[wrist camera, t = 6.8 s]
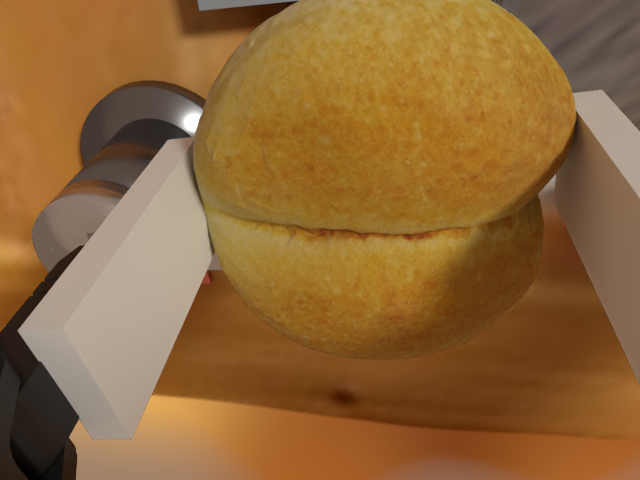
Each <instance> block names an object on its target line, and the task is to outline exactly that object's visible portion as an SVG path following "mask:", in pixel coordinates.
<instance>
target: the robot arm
mask: <svg viewBox="0 0 640 480" xmlns="http://www.w3.org/2000/svg"><path fill="white" fill-rule="evenodd" d="M573 96H574V99H575V108H576V117H577V118H576V124H575V130H574V136H573V141H572V146H571V148H570V151H569V153H568V155H567V158H566V159H565V161H564V163H563V164H562V166H561V168H560V169H559V170H558V171H557V172H556V182H555V192H554V203H555V205H556V207H557V209H558V212H559V214H560V216H561V218H562V220H563V222H564V224H565V227H566V229H567V231H568V233H569V235H570V237H571V239H572V241H573V244H574V246H575V248H576V250H577V252H578V254H579V256H580V259H581V261H582V263H583V265H584V267H585V269H586V271H587V274H588V276H589V278H590V280H591V282H592V284H593V286H594V288H595V291H596V293H597V295H598V297H599V299H600V301H601V303H602V306H603V308H604V310H605V312H606V314H607V316H608V318H609V321H610V323H611V325H612V327H613V329H614V331H615V333H616V335H617V338H618V340H619V342H620V344H621V346H622V348H623V350H624V353H625V355H626V357H627V359H628V361H629V363H630V365H631V368H632V370H633V372H634V374H635V376H636V378H637V380H638V382H639V385H640V131H639V130H638V129H637V128H636V127H635V126H634V124H633V123H632V122H631V121H630V120H629V119H628V118H627V117H626V116H625V114H624V113H623V112H622V111H621V110H620V109H619V108H618V107H617V106H616V104H615V103H614V102H613V101H612V100H611V99H610V98H609V97H608V96H607V95H606V93H605V92H604V91H603V90H595V91H586V92H577V93H573ZM194 138H195V137H188V138H179V139H171V140H167V142H166V143H165V144H164V146H163V147H162V148H161V149H160V151H159V152H158V153H157V154H156V156H155V157H154V158H153V159H152V161H151V162H150V163H149V165H148V166H147V167H146V168H145V170H144V171H143V172H142V173H141V175H140V176H139V177H138V178H137V180H136V181H135V182H134V184H133V185H132V186H131V187H130V189H129V190H128V191H127V192H126V194H125V195H124V196H123V198H122V199H121V200H120V201H119V203H118V204H117V205H116V206H115V208H114V209H113V210H112V211H111V213H110V214H109V215H108V217H107V218H106V219H105V220H104V222H103V223H102V224H101V225H100V227H99V228H98V229H97V230H96V232H95V233H94V234H93V236H92V237H91V238H90V239H89V241H88V242H87V243H86V244H85V245H81V246H78V247H77V248H76V249H74V250H73V251H72V252H70V253H69V254H68V255H66V256H65V257H64V258H62V259H61V260H60V261H58V263H57V264H56V265H55V266H54V268H53V269H52V270H51V271H50V272H49V274H48V275H47V276H46V277H45V282H41V283H40V285H39V286H38V287H37V288H36V289H35V291H34V292H33V296H30V297H29V298H28V299H27V300H26V302H25V303H24V304H23V305H22V306H21V308H20V309H19V310H18V311H17V313H16V314H15V315H14V316H13V317H12V319H11V320H10V321H9V322H8V324H7V325H6V326H5V327H4V328H3V330H2V331H1V332H0V480H76V467H77V453H76V448H75V446H74V444H73V443H72V441H71V440H70V439H69V436H70V434H71V432H72V431H73V428H74V427H75V425H76V423H77V422H78V420H80V422H81V423H82V424H83V426H84V427H85V429H86V430H87V432H88V433H89V435H90V436H91V438H92V439H132V437H133V435H134V433H135V431H136V428H137V426H138V424H139V422H140V419H141V417H142V415H143V413H144V410H145V408H146V406H147V404H148V402H149V399H150V397H151V395H152V393H153V390H154V388H155V386H156V384H157V381H158V379H159V377H160V375H161V372H162V370H163V368H164V366H165V363H166V361H167V359H168V357H169V354H170V352H171V350H172V348H173V345H174V343H175V341H176V339H177V336H178V334H179V332H180V330H181V327H182V325H183V323H184V321H185V318H186V316H187V314H188V312H189V310H190V307H191V305H192V303H193V301H194V298H195V296H196V294H197V292H198V289H199V287H200V285H201V283H202V280H203V278H204V276H205V274H206V271H207V269H208V267H209V265H210V262H211V260H212V258H213V256H214V253H215V249H214V247H213V244H212V241H211V237H210V233H209V229H208V225H207V220H206V216H205V211H204V206H203V202H202V199H201V196H200V193H199V190H198V185H197V180H196V175H195V171H194V167H193V149H194Z"/></svg>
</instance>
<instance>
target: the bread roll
mask: <svg viewBox="0 0 640 480" xmlns="http://www.w3.org/2000/svg"><path fill="white" fill-rule="evenodd" d="M576 118H577V117H576V108H575V99H574V96H573V93H572V90H571V87H570V84H569V81H568V79H567V77H566V75H565V73H564V71H563V70H562V68H561V67H560V66H559V64H558V63H557V61H556V60H555V59H554V57H553V56H552V55H551V53H550V52H549V51H548V49H547V48H546V47H545V46H544V44H543V43H542V42H541V41H540V39H539V38H538V37H537V36H536V35H535V34H534V33H533V32H532V31H531V30H530V29H529V28H528V27H527V26H526V25H525V24H523V23H522V22H521V21H520V20H519V19H517V18H516V17H515V16H514V15H512V14H511V13H509V12H508V11H506V10H505V9H503V8H502V7H501V6H499V5H498V4H496V3H494V2H492V1H491V0H299V1H298V2H296V3H294V4H292V5H290V6H289V7H287V8H285V9H284V10H283V11H281V12H280V13H278V14H276V15H274V16H272V17H270V18H269V19H267V20H266V21H264V22H263V23H262V24H260V25H259V26H258V27H257V28H255V29H254V30H253V31H252V32H251V33H250V34H249V36H248V37H247V38H246V39H245V40H244V41H243V42H242V43H241V44H240V46H239V47H238V48H237V49H236V50H235V52H234V53H233V54H232V55H231V57H230V58H229V59H228V60H227V62H226V63H225V65H224V67H223V69H222V70H221V72H220V74H219V75H218V77H217V78H216V80H215V81H214V83H213V85H212V87H211V89H210V91H209V94H208V96H207V99H206V102H205V105H204V107H203V113H202V115H201V116H200V118H199V121H198V125H197V128H196V132H195V138H194V149H193V167H194V171H195V175H196V180H197V185H198V190H199V193H200V196H201V199H202V202H203V206H204V211H205V216H206V220H207V225H208V229H209V233H210V237H211V241H212V244H213V247H214V249H215V252H216V254H217V257H218V259H219V263H220V266H221V268H222V270H223V271H224V273H225V275H226V276H227V278H228V279H229V281H230V282H231V284H232V285H233V287H234V288H235V290H236V291H237V293H238V294H239V296H240V297H241V298H242V299H243V301H244V303H245V305H246V306H247V308H249V309H250V310H251V311H252V312H253V313H254V314H255V315H257V316H258V317H259V318H260V319H261V320H262V321H263V322H265V323H266V324H268V325H269V326H271V327H272V328H274V329H275V330H277V331H278V332H280V333H282V334H283V335H285V336H287V337H289V338H290V339H292V340H294V341H296V342H298V343H299V344H302V345H304V346H306V347H308V348H310V349H312V350H316V351H320V352H324V353H328V354H333V355H338V356H344V357H350V358H357V359H369V360H386V359H406V358H411V357H417V356H422V355H426V354H431V353H434V352H438V351H441V350H445V349H449V348H452V347H455V346H458V345H461V344H463V343H466V342H468V341H469V340H471V339H473V338H474V337H476V336H477V335H479V334H480V333H482V332H484V331H485V330H487V329H488V328H490V327H491V326H493V325H494V324H495V323H497V322H498V321H499V320H500V319H501V318H503V317H504V316H505V315H506V314H508V313H509V312H510V311H512V310H513V309H514V307H515V306H516V305H517V304H518V303H519V301H520V300H521V299H522V297H523V296H524V294H525V293H526V292H527V290H528V288H529V287H530V285H531V283H532V282H533V279H534V277H535V275H536V273H537V270H538V265H539V261H540V257H541V251H542V243H543V233H544V222H543V216H542V210H541V203H540V200H539V197H538V193H539V192H540V191H541V190H542V189H543V188H544V186H545V185H546V184H547V183H548V182H549V181H550V180H551V179H552V177H553V176H554V175H555V174H556V172H557V171H558V170H559V169H560V168H561V166H562V164H563V163H564V161H565V159H566V158H567V155H568V153H569V151H570V148H571V146H572V141H573V136H574V130H575V124H576Z"/></svg>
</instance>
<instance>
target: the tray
mask: <svg viewBox="0 0 640 480" xmlns="http://www.w3.org/2000/svg"><path fill="white" fill-rule="evenodd" d="M291 1H299V0H197V2H198V6H199V10H200V11H203V10H213V9H222V8H232V7H242V6H252V5H261V4H271V3H281V2H291Z"/></svg>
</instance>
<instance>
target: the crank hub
mask: <svg viewBox="0 0 640 480" xmlns="http://www.w3.org/2000/svg"><path fill="white" fill-rule="evenodd" d="M205 102H206V100H205V99H203V98H202V97H200V96H199V95H197V94H196V93H194V92H192V91H190V90H188V89H186V88H183V87H181V86H178V85H175V84H171V83H167V82H162V81H138V82H132V83H129V84H126V85H123V86H121V87H119V88H117V89H115V90H113V91H112V92H111V93H109V94H108V95H107V96H106V97H104V98H103V99H102V100H101V101H100V102H99V103H98V104H97V105H96V106H95V107H94V108H93V109H92V110H91V112H90V113H89V115H88V116H87V118H86V121H85V123H84V126H83V129H82V134H81V153H82V158H83V162H84V165H85V167H84V168H83V169H82V170H81V171H80V172H79V173H78V174H77V175H76V176H75V177H74V178H73V179H72V180H71V181H70V182H69V183H68V185H67V186H69V185H71V184H73V183H75V182H79V181H83V180H106V181H111V182H115V183H118V184H121V185H124V186H126V187H128V188H130V187H131V186H132V185H133V184H134V182H135V181H136V180H137V178H138V177H139V176H140V175H141V173H142V172H143V171H144V170H145V168H146V167H147V166H148V165H149V163H150V162H151V161H152V159H153V158H154V157H155V156H156V154H157V153H158V152H159V151H160V149H161V148H162V147H163V146H164V144H165V143H166V142H167V140H171V139H179V138H188V137H195V132H196V128H197V125H198V121H199V118H200V116H201V115H202V113H203V107H204V105H205ZM67 186H66V187H67ZM66 187H65V188H66ZM211 282H212V279H211V275H210V272H209V270H207V271H206V274H205V276H204V278H203V280H202V283H201V284H211Z"/></svg>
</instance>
